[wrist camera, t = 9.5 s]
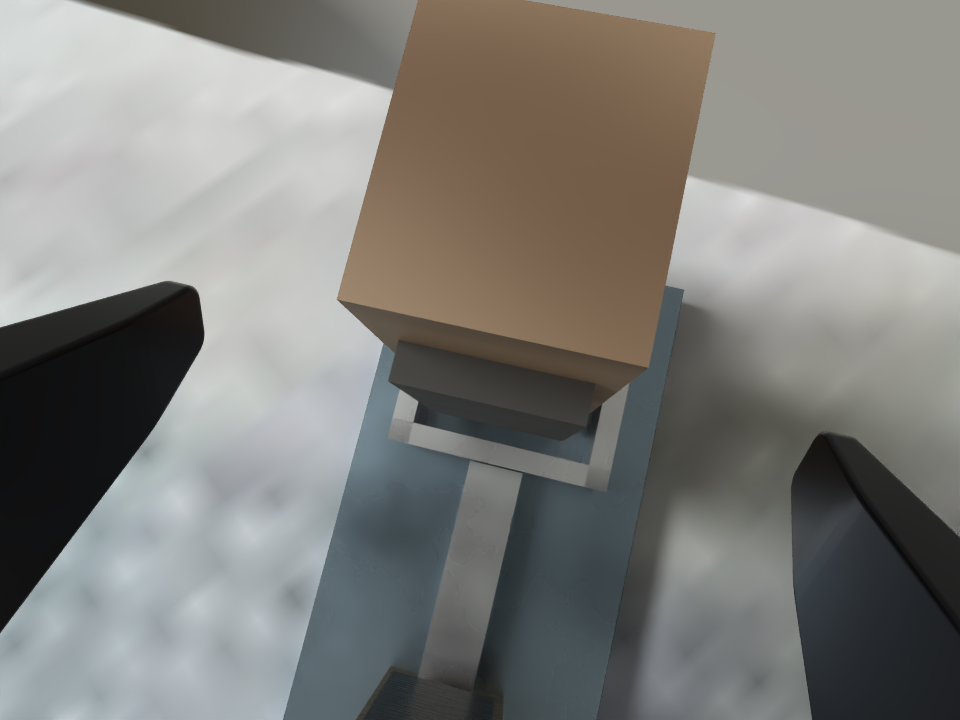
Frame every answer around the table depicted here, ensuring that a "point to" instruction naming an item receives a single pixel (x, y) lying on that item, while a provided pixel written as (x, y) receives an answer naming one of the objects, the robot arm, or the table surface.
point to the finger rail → (478, 560)
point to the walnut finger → (526, 207)
